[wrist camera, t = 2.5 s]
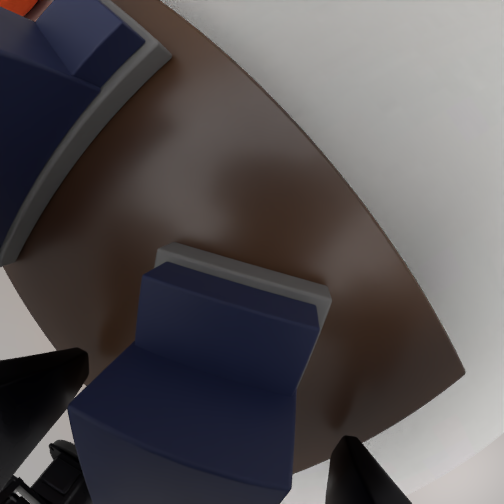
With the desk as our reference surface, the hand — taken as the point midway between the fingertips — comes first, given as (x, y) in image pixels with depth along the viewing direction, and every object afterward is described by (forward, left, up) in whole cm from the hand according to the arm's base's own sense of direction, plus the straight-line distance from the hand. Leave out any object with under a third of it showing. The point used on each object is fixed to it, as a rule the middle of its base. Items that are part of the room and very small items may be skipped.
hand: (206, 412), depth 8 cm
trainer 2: (0, 0, -1) cm, 1 cm away
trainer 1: (+7, +7, -1) cm, 10 cm away
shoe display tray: (+4, +4, -5) cm, 7 cm away
